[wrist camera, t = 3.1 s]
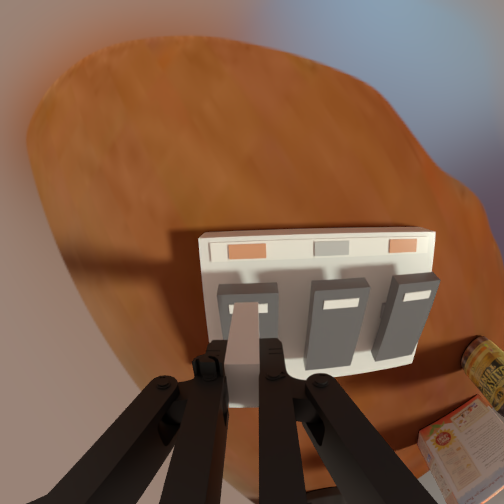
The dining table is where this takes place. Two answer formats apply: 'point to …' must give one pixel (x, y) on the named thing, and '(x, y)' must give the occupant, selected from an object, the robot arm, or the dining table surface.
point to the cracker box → (466, 453)
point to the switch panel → (314, 278)
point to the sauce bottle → (486, 370)
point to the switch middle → (334, 321)
